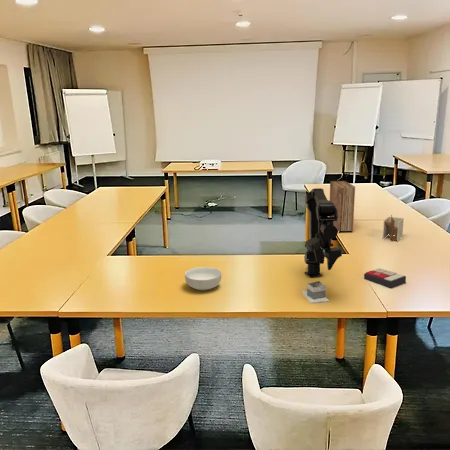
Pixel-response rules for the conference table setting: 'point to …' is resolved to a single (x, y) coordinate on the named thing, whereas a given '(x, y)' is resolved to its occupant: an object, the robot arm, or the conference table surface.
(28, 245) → the conference table surface
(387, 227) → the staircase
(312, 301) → the hard drive
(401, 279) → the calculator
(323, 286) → the box
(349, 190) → the brown wooden block
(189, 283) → the cereal bowl
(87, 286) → the conference table surface
